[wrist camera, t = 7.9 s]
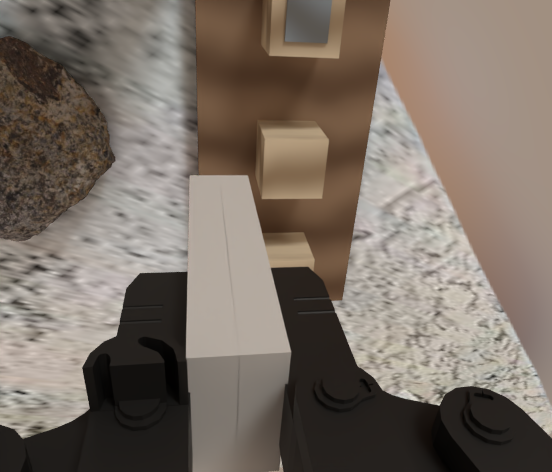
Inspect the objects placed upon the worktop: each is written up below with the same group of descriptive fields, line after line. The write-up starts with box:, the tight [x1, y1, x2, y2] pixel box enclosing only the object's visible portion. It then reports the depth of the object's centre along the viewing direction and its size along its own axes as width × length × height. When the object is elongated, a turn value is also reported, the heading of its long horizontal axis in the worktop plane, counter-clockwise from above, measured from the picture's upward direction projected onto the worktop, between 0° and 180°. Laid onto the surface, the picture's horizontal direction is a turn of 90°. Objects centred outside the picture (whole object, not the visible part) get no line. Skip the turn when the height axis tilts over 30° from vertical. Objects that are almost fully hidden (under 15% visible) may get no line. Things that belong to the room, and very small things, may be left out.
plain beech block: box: [255, 120, 329, 199], centre depth 40 cm, size 5×5×5 cm
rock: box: [0, 36, 115, 241], centre depth 38 cm, size 13×6×15 cm
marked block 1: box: [262, 232, 315, 271], centre depth 46 cm, size 5×5×5 cm
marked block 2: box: [261, 0, 346, 59], centre depth 35 cm, size 5×5×5 cm
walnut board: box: [195, 0, 390, 301], centre depth 43 cm, size 34×15×2 cm, turn 176°
